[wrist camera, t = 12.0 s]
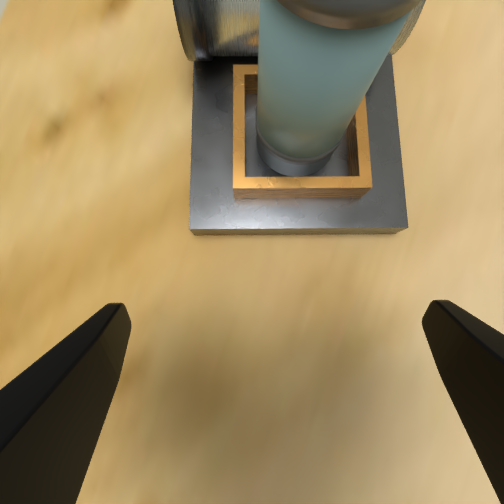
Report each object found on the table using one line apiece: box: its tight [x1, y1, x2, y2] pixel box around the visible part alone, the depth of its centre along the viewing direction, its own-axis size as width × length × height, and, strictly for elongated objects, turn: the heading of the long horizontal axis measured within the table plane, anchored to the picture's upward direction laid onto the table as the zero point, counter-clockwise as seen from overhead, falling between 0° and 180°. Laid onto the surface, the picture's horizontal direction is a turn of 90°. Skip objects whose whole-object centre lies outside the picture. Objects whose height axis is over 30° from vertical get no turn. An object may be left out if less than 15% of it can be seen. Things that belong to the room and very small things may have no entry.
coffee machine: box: [173, 0, 426, 235], centre depth 19 cm, size 20×16×10 cm
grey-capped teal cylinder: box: [255, 0, 422, 177], centre depth 15 cm, size 6×6×13 cm
